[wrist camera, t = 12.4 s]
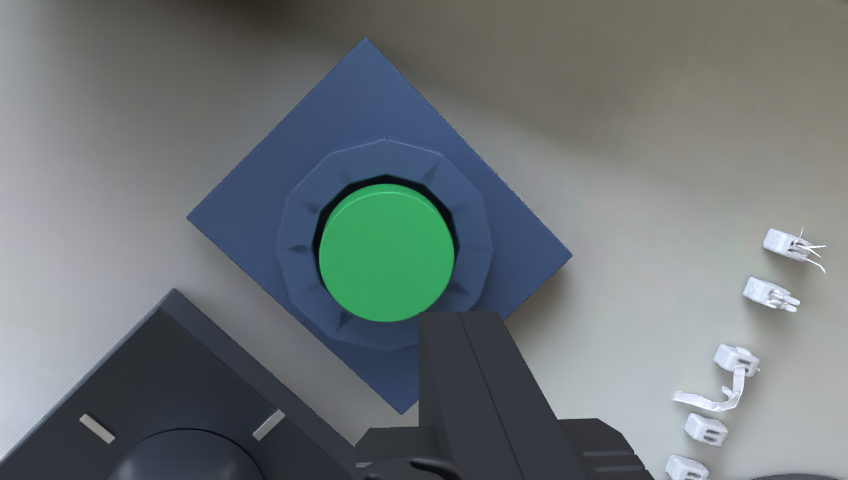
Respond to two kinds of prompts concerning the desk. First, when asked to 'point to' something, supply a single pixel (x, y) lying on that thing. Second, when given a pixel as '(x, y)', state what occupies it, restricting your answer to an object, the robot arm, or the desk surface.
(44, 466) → the dial panel
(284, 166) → the block
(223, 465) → the dial
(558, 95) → the desk surface
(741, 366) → the figurines set
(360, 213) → the button
